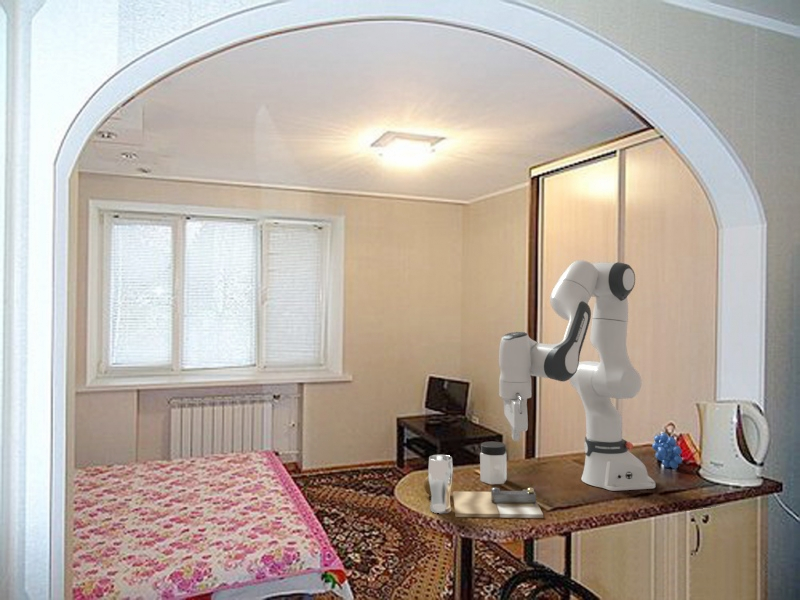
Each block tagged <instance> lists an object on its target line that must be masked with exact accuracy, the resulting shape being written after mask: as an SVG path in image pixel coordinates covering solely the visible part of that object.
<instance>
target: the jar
mask: <svg viewBox="0 0 800 600" xmlns="http://www.w3.org/2000/svg"><path fill="white" fill-rule="evenodd" d="M506 447H507V446H506V444H505V443H504V442H501V441H484V442H481V444H480V453H479V462H480V463H479V466H480V467H479V469H480V470H479V471H480V472H479V473H480V476H479V478H480V480H479V481H480V482H482V483H485V484H487V485H490V486H491V485H504V484H505V483H506V481H507V479H508V478H507V477H508V475H507V473H508V472H507V471H508V470H507V466H508V465H507V448H506Z"/></svg>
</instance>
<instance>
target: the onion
mask: <svg viewBox="0 0 800 600" xmlns="http://www.w3.org/2000/svg"><path fill="white" fill-rule="evenodd" d="M423 488H424V492H425V493H426V494H427V495H428V496H430V497H431V489H430V484H429V475H427V476H426V477H425V479H424V481H423Z"/></svg>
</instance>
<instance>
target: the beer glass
mask: <svg viewBox="0 0 800 600" xmlns="http://www.w3.org/2000/svg"><path fill="white" fill-rule="evenodd" d="M453 469H454V465H453V457H452V456H450V455H447V454H433V455H430V456H429V457H428V475H427V476H429V484H430V489H431V496H430V499H431V500H430V506H429V510H431V511H432V512H431V511H430V512H431V513H433V512H434V514H437V513H439V514H438V515H447V514H449V513H451V511H452V506H451V491H452V484H453V476H454V472H453V471H454V470H453Z"/></svg>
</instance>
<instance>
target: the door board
mask: <svg viewBox="0 0 800 600" xmlns="http://www.w3.org/2000/svg"><path fill="white" fill-rule="evenodd" d="M522 491H528V488H526V489H522ZM452 498H453V499H452V500H453V507H454V515H455V518H506V519H507V518H511V519H512V518H515V519H544V513H543V511H542V510H541V507H540V505H539V503H538V501H537V500H536V503H494V502H492V501H491V491H455V490H454V491H452Z"/></svg>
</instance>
